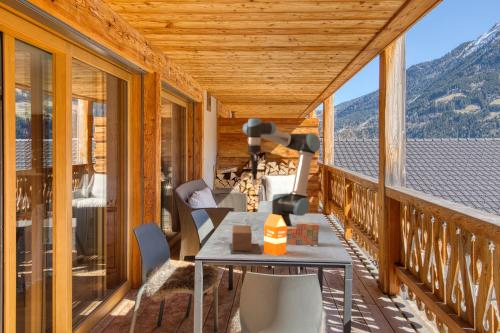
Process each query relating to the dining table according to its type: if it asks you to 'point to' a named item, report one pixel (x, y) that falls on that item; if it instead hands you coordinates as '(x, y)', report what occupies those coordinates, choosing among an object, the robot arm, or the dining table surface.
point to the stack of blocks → (303, 234)
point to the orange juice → (275, 235)
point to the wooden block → (241, 238)
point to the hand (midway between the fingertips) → (254, 184)
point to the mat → (254, 250)
